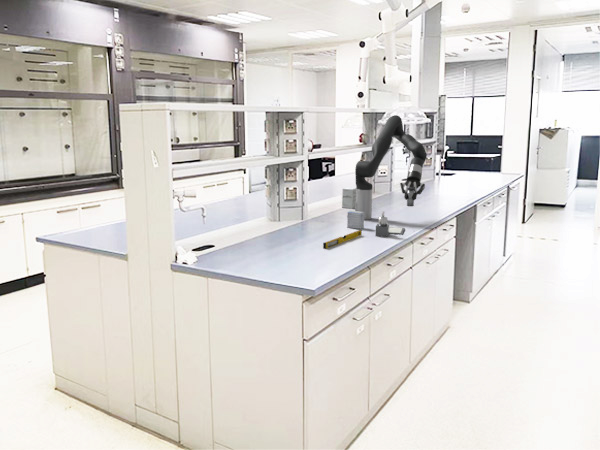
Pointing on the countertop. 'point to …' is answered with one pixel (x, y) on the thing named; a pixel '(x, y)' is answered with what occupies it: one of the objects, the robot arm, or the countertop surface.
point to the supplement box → (348, 197)
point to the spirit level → (341, 239)
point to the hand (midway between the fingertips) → (409, 199)
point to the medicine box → (355, 219)
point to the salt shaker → (410, 196)
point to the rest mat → (396, 230)
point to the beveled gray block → (382, 226)
